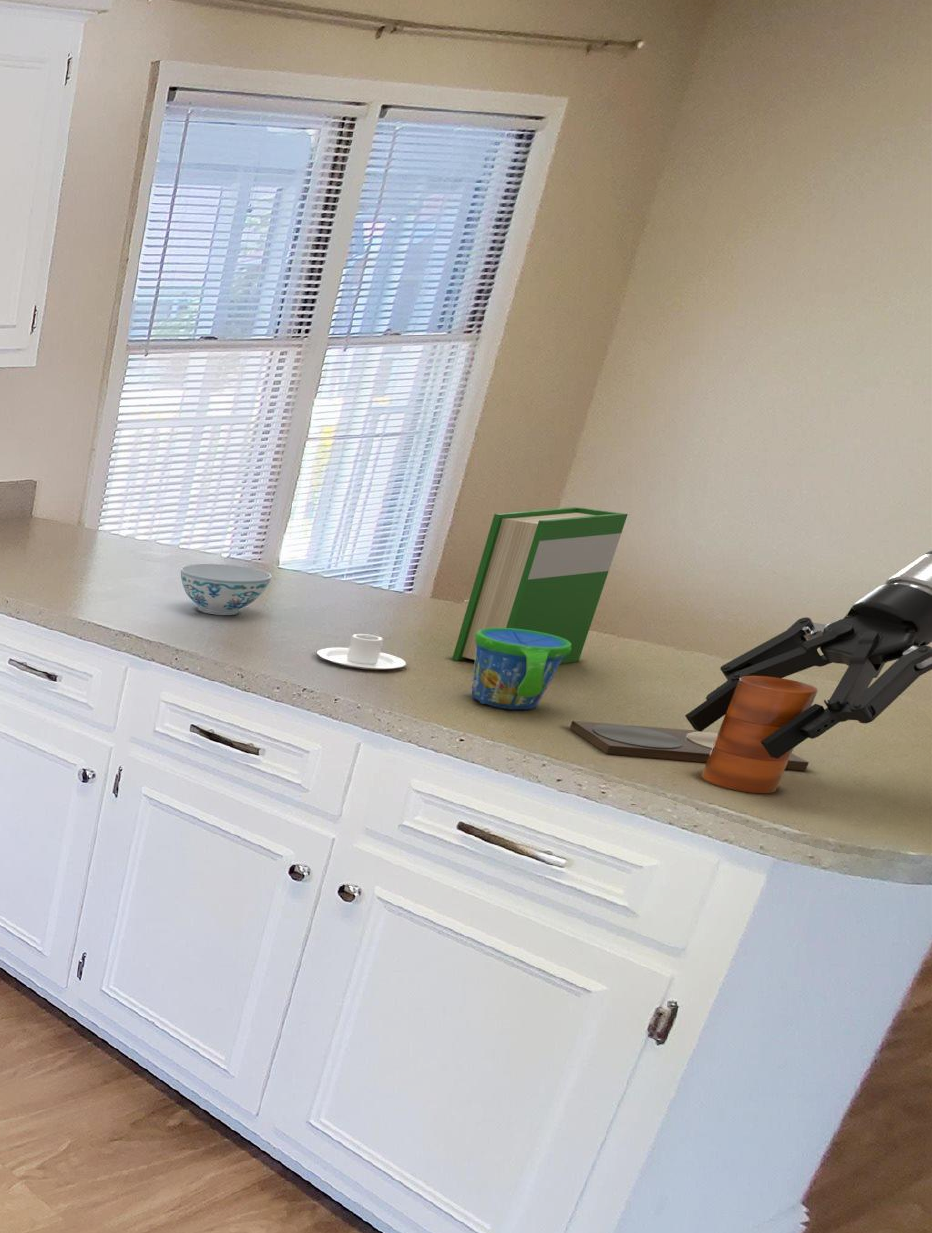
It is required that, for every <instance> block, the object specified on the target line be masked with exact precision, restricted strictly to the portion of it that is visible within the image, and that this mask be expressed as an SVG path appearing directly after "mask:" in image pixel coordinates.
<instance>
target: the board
mask: <svg viewBox="0 0 932 1233" xmlns="http://www.w3.org/2000/svg"><path fill="white" fill-rule="evenodd" d="M569 730H571V731H573V732H574V733H575V734H576V735H578V736H580V737H581V738H583V739H584V740H585V741H587V742H588V743H590V744H591V745H593V746H594V747H596V748H597V749H599V750H600V751H601V752H603V753H604V754H606V755H613V756H625V757H637V758H649V759H650V758H651V759H661V760H672V761H673V760H674V761H683V762H695V763H705V764H706V763H707V760H708V758H709V755H710V753H711V750H712V747H713V745H714V742H715V740H716V737H717V735H718V732H719V731H708V730H707V731H706V730H703V731H701V732H700V731H697V730H695V729H684V728H683V729H682V728H672V727H671V728H669V727H657V726H655V727H654V726H646V725H645V726H643V725H642V726H641V725H633V724H632V725H630V724H620V723H619V724H617V723H606V722H593V721H583V720H582V721H581V720H571V723H570V726H569ZM808 765H809V761H807V760H805V759H804V758H802V757H801V756H798V755H796V754H794V753H793V752H792V753H791V756H790V758H789V760H788V763H787V765H786V768H785V770H788V771H789V770H790V771H801V772H806V770H807V768H808Z"/></svg>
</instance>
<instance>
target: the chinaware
mask: <svg viewBox="0 0 932 1233" xmlns="http://www.w3.org/2000/svg"><path fill="white" fill-rule="evenodd" d="M180 579H181V584H182V587H183V590H184V592H185V594H186V596H188V598H189V599H190V600H191V601H192V602H193V603H195V604H196V605H197V610H198V611H199V612H201V613H204V614H209V615H214V616H215V615H216V616H233V615H237V614H238V612H239V610H240V609H243V608H245V607H247V606H249V605H251V604H252V603H254V602H255V601H256V600H257V599H259V597H260V596H261V595H262V594H263V593H264V591H265V590H266V589H267V587H268V585H269V583H270V582H271V579H272V574H271V573H270V572H267V571H265V570H263V569H259V568H254V567H250V566H243V565H237V564H235V565H234V564H226V563H225V564H224V563H193V564H187V565H183V566H181V567H180Z"/></svg>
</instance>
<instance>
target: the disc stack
mask: <svg viewBox="0 0 932 1233" xmlns="http://www.w3.org/2000/svg"><path fill="white" fill-rule="evenodd" d="M818 692H819V689H818V688H817V687H815V686H814V685H811V684H808V683H806V682H802V681H798V680H793V679H788V678H776V677H767V676H743V677H741V678H740V679H739V681H738V684H737V686H736V689H735V691H734V694H733V696H732V699H731V702H730V704H729V707H728V709H727V712H726V714H725V715H724V717H723V720H722V723H721V725H720V726H719V729H718V731H717V732H718V735H717V737H716V740H715V742H714V745H713V747H712V750H711V753H710V755H709V758H708V760H707V763H706V762H705V766H704V768H703V771H702V773H701V778H702V779H703V780H704V781H706V782H707V783H709V784H713V785H715V786H718V787H720V788H721V787H722V788H724V789H728V790H734V791H737V792H743V793H751V794H772V793H775V792H776V791H777V789H778V786H779V784H780V783H781V779H782V777H783V774H784V773H785V770H786V769H785V768H786V765H787V763H788V760H789V758H790V756H791V753H792V754H793V751H794V748H795V747H794V748H792V749H791V750H789V751H788V752H787V753H785V754H784V755H782V756H781V757H779V758H778V759H776V758H773V757H771V756H770V755H769V754H768V752H767V751H766V749H765V748H764V746H763V745H762V743H761V741H762V740H764V739H765V738H767V737H768V736H769V735H771V734H772V733H774V732H775V731H777V730H778V729H780V728H781V727H782V726H784V725H785V724H787V723H788V722H790V721H791V720H793V719H794V718H795V717H797V716H798V715H800V714H801V713H803V712H804V711H805V710H807V709H808V708H810V707H811V706H813V703H814V701H815V698H816V696H817V694H818Z"/></svg>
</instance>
